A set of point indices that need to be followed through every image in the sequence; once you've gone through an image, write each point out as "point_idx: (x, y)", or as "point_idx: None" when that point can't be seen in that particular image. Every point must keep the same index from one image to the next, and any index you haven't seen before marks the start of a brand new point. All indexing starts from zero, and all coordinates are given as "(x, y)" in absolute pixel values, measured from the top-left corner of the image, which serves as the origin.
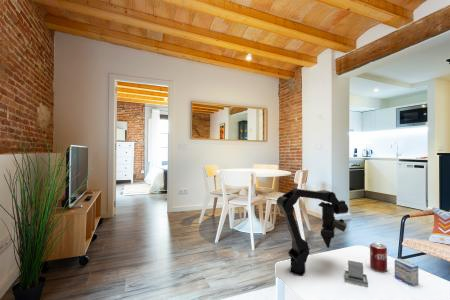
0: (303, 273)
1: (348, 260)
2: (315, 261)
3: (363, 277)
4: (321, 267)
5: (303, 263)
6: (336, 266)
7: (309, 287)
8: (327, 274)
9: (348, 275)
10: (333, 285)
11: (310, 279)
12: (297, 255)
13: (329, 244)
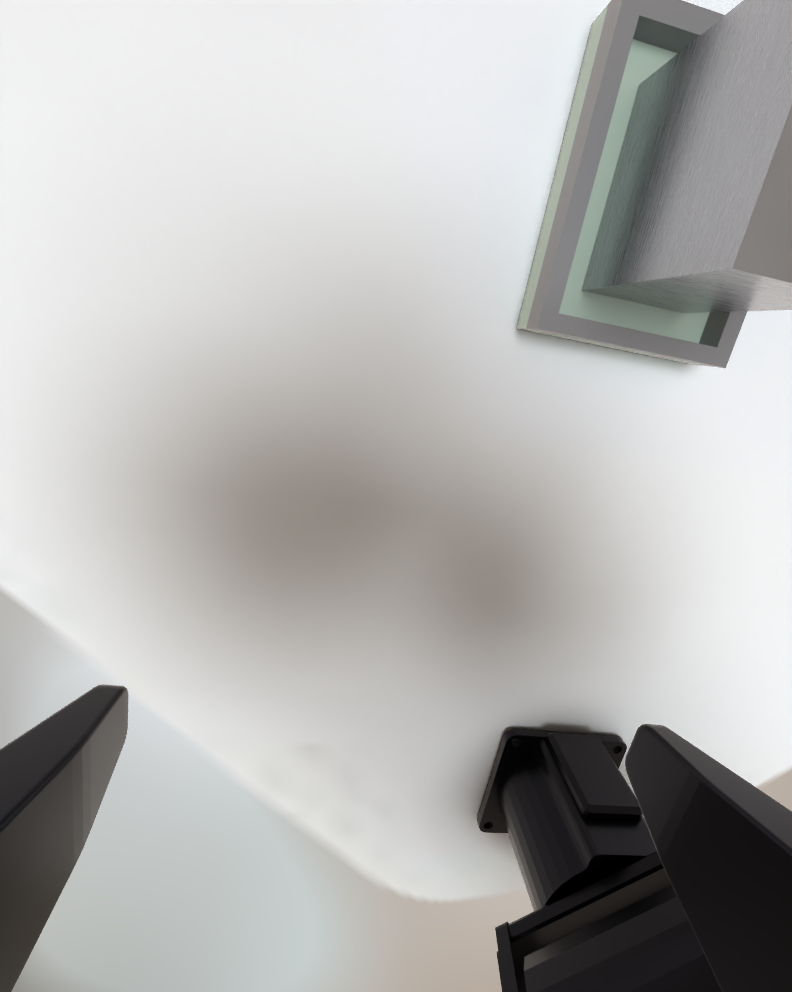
0: (602, 741)
1: (744, 263)
2: (271, 636)
3: (633, 69)
4: (408, 579)
5: (636, 828)
6: (325, 399)
7: (788, 682)
8: (555, 529)
9: (689, 308)
10: (757, 493)
11: (669, 678)
12: (549, 935)
13: (774, 810)
